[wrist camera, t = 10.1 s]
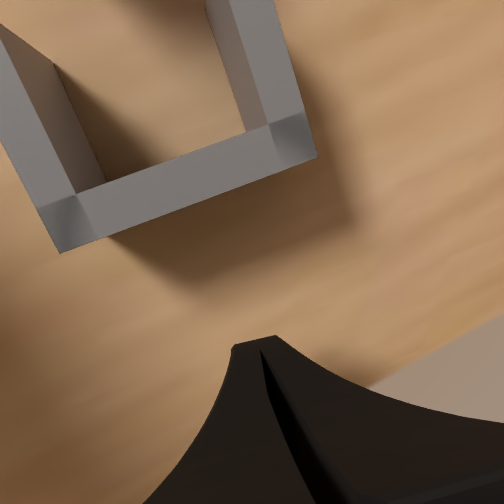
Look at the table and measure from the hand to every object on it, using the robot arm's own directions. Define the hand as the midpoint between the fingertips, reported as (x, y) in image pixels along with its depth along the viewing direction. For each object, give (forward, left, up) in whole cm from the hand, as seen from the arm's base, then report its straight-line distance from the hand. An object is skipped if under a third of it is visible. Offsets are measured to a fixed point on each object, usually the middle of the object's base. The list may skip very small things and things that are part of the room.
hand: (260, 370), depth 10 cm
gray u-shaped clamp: (0, +8, -4) cm, 9 cm away
